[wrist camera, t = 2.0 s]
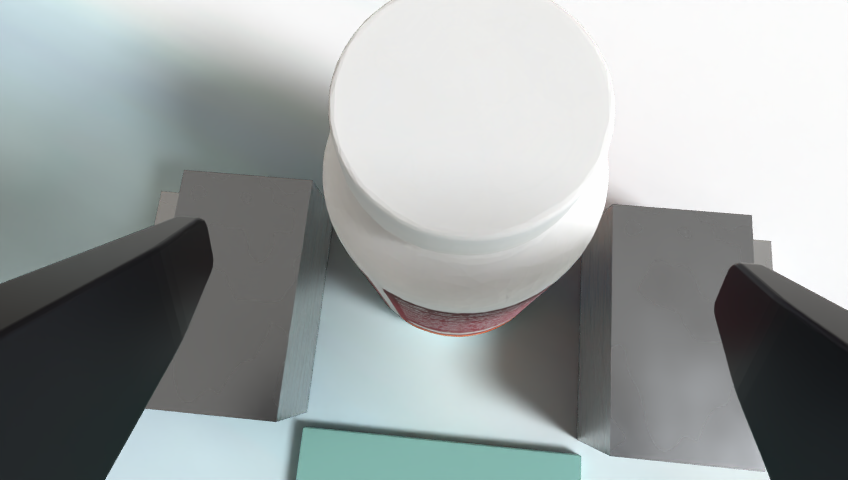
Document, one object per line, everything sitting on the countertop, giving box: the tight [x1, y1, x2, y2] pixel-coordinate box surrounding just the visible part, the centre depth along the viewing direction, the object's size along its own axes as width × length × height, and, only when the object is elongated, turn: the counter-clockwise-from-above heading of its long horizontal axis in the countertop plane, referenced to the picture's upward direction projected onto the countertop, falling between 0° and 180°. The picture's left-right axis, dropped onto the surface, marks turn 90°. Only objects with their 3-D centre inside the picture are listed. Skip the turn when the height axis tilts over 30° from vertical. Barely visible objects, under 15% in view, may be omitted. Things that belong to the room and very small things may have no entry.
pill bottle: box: [323, 0, 615, 337], centre depth 14 cm, size 6×6×11 cm
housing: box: [145, 170, 773, 472], centre depth 17 cm, size 7×21×4 cm, turn 85°
